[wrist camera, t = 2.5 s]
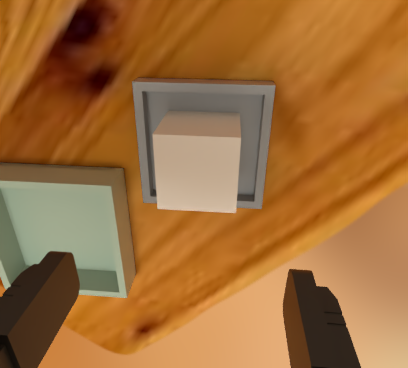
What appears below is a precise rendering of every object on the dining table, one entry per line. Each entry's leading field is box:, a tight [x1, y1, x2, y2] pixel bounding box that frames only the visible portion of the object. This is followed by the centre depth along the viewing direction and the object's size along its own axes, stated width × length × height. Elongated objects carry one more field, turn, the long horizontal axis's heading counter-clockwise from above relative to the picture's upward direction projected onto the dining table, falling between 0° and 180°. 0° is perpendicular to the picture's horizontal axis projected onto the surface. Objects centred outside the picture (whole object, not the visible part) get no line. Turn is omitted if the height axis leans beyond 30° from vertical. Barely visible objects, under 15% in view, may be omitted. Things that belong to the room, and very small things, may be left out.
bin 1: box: [0, 163, 136, 298], centre depth 27 cm, size 11×11×3 cm
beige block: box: [152, 111, 241, 213], centre depth 21 cm, size 5×5×5 cm
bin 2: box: [132, 78, 275, 209], centre depth 23 cm, size 9×9×2 cm
